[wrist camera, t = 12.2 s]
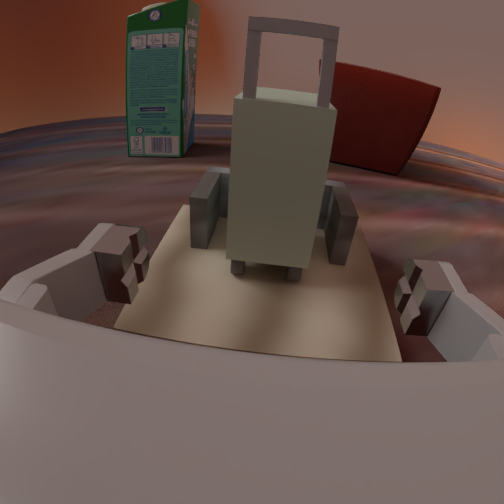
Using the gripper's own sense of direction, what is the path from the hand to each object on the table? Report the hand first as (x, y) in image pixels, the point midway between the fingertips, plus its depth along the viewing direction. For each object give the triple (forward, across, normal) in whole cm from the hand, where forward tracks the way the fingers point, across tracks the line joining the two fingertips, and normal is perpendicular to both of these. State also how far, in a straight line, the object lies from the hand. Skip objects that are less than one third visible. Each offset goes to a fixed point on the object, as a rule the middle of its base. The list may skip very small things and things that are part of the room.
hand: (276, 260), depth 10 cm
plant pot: (+49, -15, +10) cm, 52 cm away
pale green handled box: (+12, 0, +8) cm, 14 cm away
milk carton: (+42, +19, +10) cm, 47 cm away
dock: (+10, 0, +10) cm, 14 cm away
